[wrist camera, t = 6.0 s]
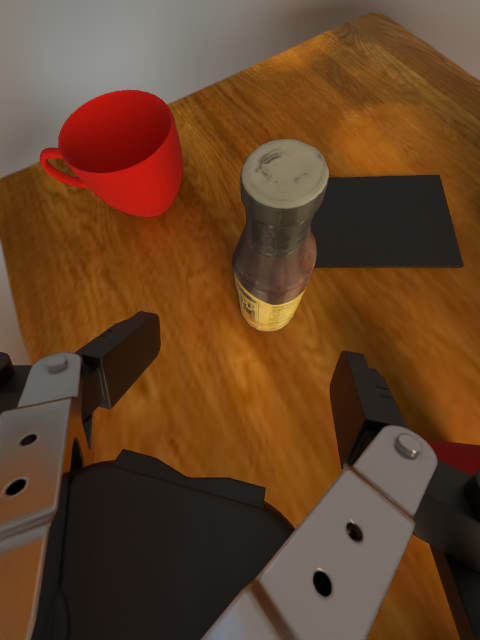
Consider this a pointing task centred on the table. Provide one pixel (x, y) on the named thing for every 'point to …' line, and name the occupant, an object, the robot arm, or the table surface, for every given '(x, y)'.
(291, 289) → the sauce bottle
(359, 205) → the placemat
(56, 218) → the table surface
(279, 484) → the table surface
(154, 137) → the ceramic cup
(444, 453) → the paper cup
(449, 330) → the table surface
